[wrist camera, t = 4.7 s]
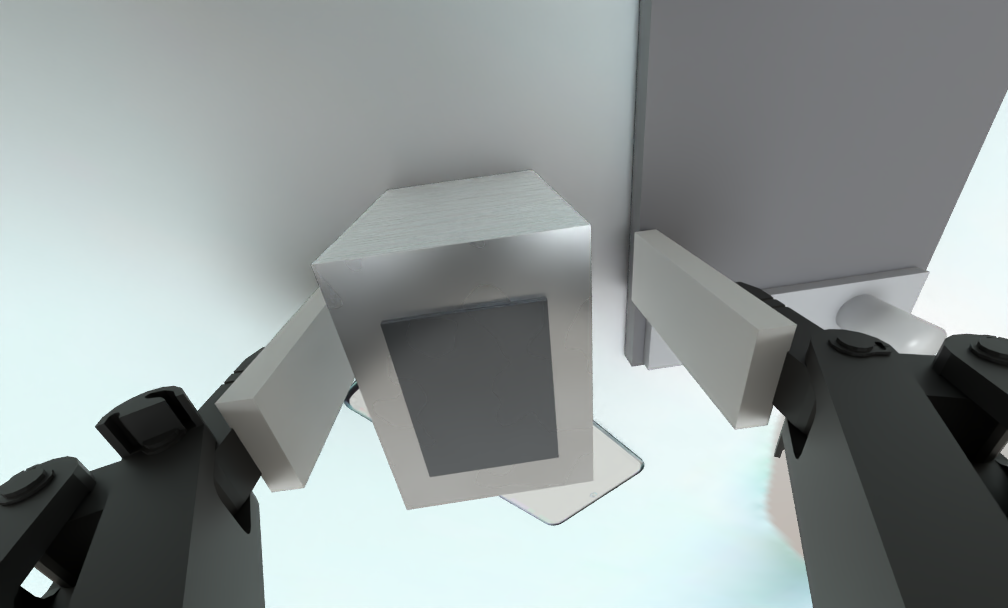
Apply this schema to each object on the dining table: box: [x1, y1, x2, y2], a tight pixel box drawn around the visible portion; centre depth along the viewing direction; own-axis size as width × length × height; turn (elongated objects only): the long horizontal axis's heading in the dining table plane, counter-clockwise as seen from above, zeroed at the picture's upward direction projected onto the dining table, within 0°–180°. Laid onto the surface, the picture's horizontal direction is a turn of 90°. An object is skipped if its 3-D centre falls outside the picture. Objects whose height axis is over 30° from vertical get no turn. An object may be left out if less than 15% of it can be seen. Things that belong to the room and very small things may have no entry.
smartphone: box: [344, 381, 644, 526], centre depth 19 cm, size 7×1×15 cm
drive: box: [311, 170, 593, 510], centre depth 11 cm, size 7×5×7 cm
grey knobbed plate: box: [625, 0, 1008, 370], centre depth 11 cm, size 16×12×4 cm
